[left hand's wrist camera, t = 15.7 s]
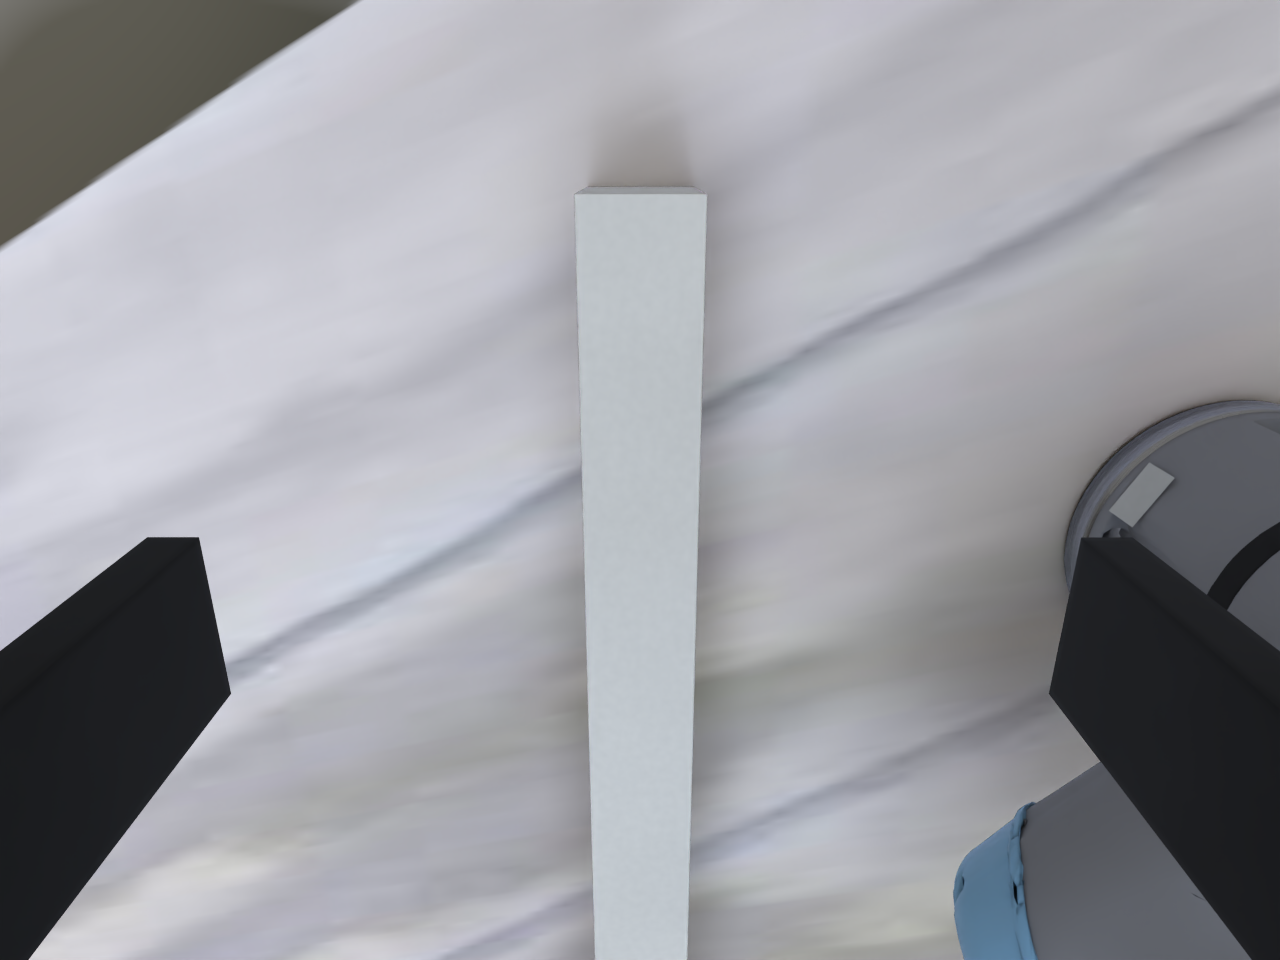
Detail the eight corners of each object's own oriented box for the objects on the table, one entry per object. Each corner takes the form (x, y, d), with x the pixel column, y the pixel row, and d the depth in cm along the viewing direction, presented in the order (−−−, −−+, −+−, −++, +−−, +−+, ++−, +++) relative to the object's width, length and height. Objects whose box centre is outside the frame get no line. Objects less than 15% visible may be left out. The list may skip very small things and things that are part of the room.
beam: (586, 186, 39) (574, 193, 32) (694, 186, 39) (707, 193, 32) (605, 1018, 59) (599, 1146, 51) (677, 1018, 59) (682, 1145, 51)
